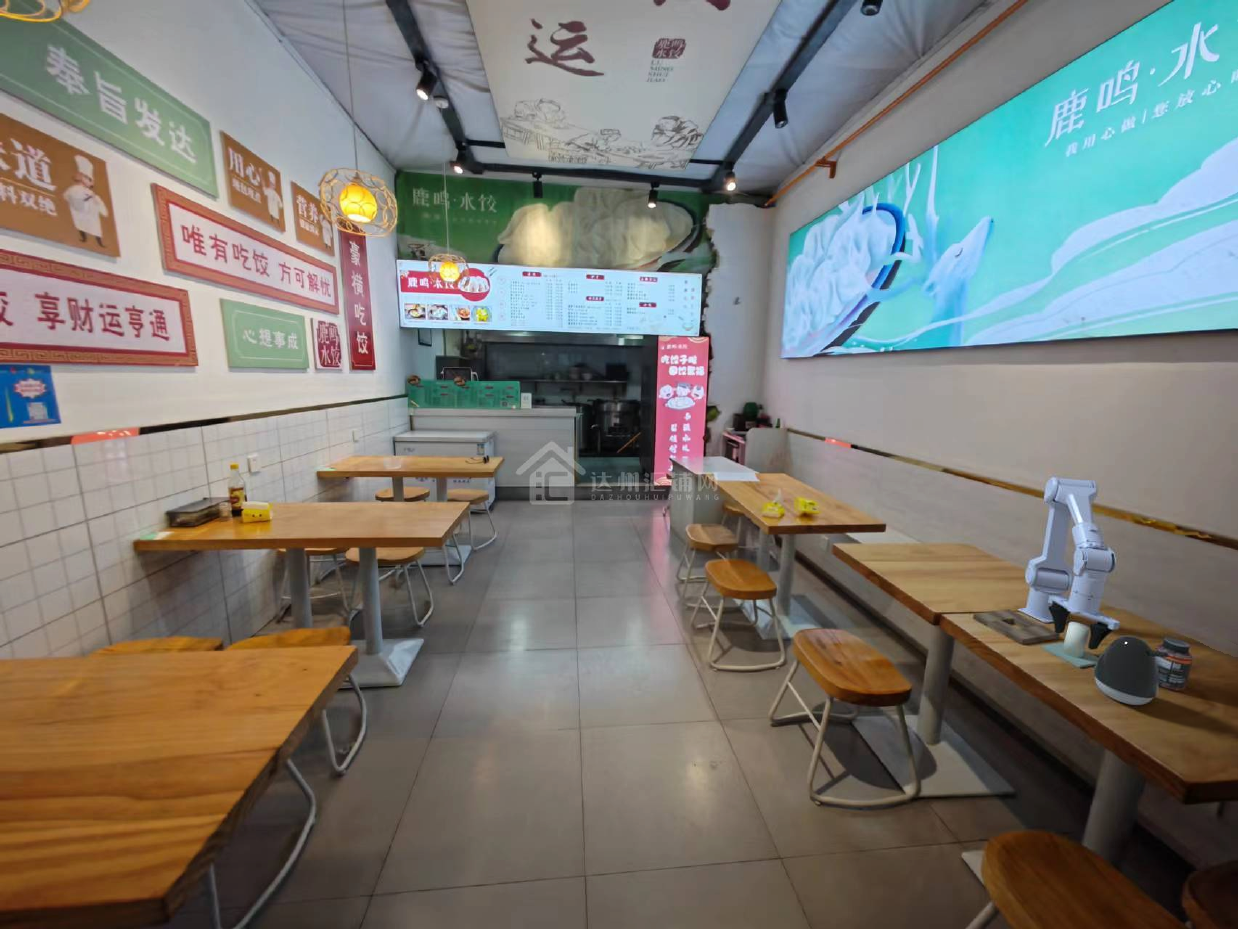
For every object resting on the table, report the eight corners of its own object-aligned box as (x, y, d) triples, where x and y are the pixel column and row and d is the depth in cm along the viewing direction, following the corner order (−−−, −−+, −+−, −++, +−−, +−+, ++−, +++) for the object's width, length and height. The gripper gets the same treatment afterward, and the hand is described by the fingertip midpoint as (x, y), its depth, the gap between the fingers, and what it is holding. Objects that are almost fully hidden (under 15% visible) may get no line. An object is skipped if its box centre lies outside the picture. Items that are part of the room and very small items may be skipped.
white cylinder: (1069, 647, 128) (1076, 621, 126) (1086, 656, 124) (1094, 629, 122) (1058, 649, 127) (1065, 622, 125) (1075, 658, 123) (1082, 631, 122)
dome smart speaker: (1141, 718, 103) (1158, 655, 100) (1080, 688, 112) (1094, 630, 109) (1163, 705, 107) (1180, 645, 104) (1102, 678, 116) (1116, 622, 113)
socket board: (1008, 613, 147) (1009, 609, 147) (1058, 638, 134) (1060, 633, 134) (972, 618, 144) (973, 614, 143) (1021, 644, 130) (1022, 639, 130)
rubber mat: (1065, 643, 131) (1065, 641, 131) (1104, 663, 123) (1105, 661, 122) (1040, 647, 129) (1041, 645, 129) (1079, 667, 120) (1079, 665, 120)
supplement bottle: (1166, 677, 117) (1178, 636, 115) (1192, 693, 111) (1205, 650, 109) (1140, 675, 118) (1151, 634, 116) (1164, 691, 112) (1176, 648, 110)
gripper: (1044, 582, 128) (1034, 627, 131) (1109, 607, 114) (1097, 658, 117) (1063, 579, 130) (1053, 624, 133) (1130, 604, 116) (1117, 654, 119)
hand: (1075, 640), depth 125 cm, fingers open, 7 cm apart
